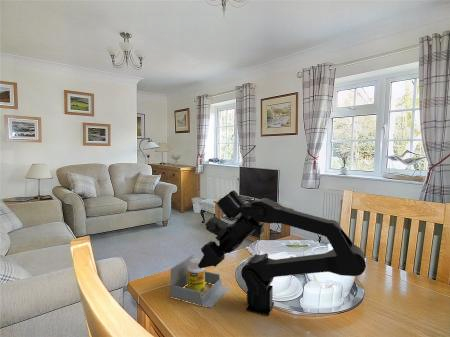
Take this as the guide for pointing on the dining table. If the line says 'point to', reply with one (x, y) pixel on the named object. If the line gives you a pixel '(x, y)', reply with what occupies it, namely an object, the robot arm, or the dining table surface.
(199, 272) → the supplement bottle
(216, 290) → the carton
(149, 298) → the dining table surface
